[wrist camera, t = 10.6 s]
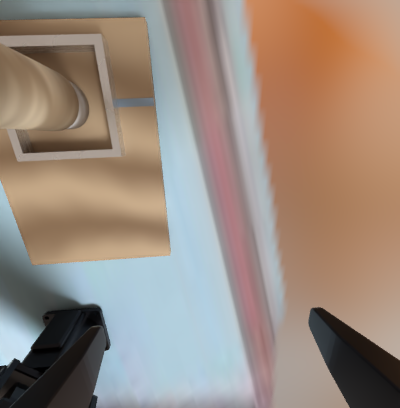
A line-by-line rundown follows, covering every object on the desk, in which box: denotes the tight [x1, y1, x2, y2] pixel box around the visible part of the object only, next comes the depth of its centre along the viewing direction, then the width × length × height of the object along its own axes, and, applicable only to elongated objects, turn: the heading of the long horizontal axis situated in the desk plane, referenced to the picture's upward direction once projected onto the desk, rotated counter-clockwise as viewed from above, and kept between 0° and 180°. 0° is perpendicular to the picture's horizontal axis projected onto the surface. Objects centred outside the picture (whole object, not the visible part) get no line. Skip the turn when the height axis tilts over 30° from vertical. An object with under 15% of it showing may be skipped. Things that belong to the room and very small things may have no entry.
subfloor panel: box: [0, 17, 171, 265], centre depth 18 cm, size 20×14×1 cm
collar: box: [0, 34, 126, 162], centre depth 15 cm, size 8×8×1 cm
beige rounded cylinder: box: [0, 43, 89, 131], centre depth 12 cm, size 4×4×8 cm
